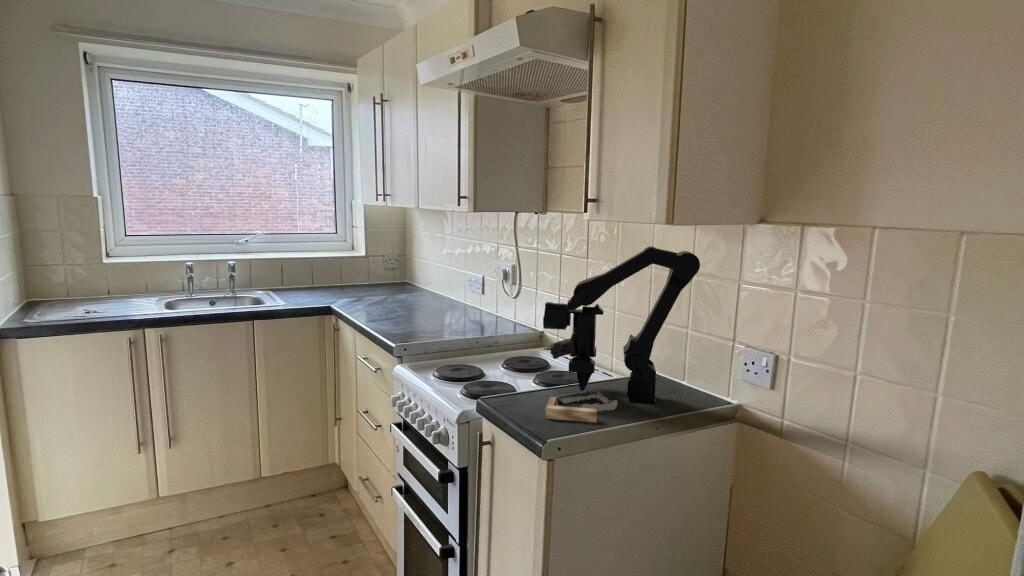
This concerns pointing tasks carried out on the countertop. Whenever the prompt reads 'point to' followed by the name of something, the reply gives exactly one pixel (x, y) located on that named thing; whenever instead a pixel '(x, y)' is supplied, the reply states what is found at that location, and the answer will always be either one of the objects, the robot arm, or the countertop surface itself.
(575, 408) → the oak fence
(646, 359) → the robot arm
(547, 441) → the countertop surface
